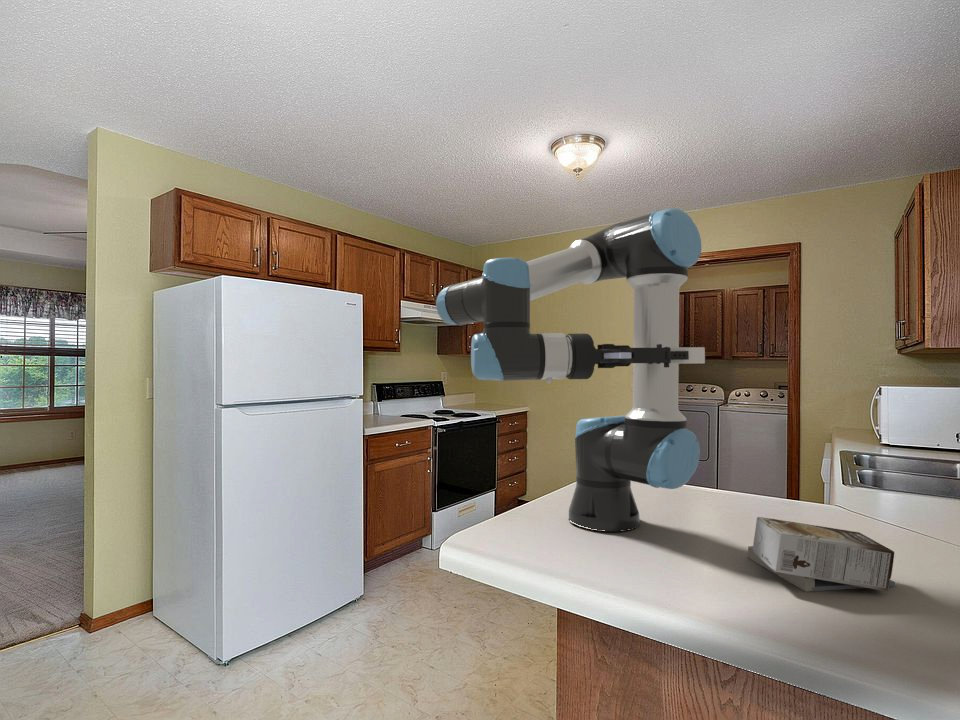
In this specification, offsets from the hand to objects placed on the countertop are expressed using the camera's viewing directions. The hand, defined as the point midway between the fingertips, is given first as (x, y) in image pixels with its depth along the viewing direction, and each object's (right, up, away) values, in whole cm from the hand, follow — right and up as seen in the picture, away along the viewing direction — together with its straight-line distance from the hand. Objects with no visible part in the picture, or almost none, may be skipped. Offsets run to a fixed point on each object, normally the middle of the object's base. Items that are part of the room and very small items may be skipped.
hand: (702, 355), depth 88 cm
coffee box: (+8, -30, -5) cm, 31 cm away
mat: (+19, -36, -1) cm, 41 cm away
